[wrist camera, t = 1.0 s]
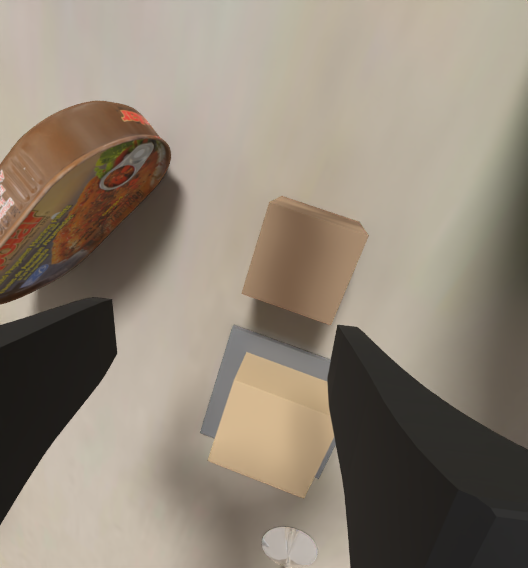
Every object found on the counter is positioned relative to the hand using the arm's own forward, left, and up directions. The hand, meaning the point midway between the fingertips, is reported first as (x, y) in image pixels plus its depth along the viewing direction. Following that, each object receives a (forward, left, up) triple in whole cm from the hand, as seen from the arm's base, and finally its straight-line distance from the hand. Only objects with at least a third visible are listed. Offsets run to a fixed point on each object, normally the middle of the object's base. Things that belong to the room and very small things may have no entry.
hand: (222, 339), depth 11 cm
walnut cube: (-2, -1, -12) cm, 12 cm away
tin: (+12, +1, -12) cm, 18 cm away
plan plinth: (-4, +11, -12) cm, 17 cm away
